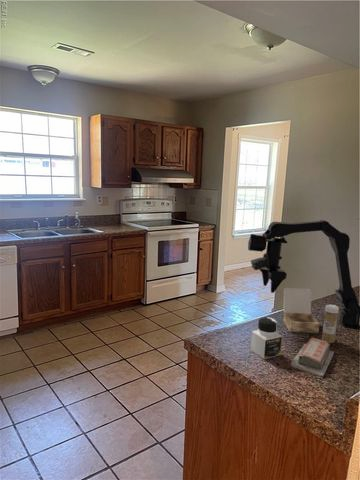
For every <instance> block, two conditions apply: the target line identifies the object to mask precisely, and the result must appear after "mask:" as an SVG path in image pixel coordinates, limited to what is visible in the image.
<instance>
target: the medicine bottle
mask: <svg viewBox="0 0 360 480" xmlns="http://www.w3.org/2000/svg"><path fill="white" fill-rule="evenodd" d="M277 328H278V322H277V320H275V319H274V318H272V317H266V316H264V317H261V318H259V319H258V325H257V329H256V330H255V329H254V330H252V332H251V342H250V350H251V352H253V353H255V354H256V355H258V356H259V357H260V358H262V359H263V360H267V359H271V358H274V357H277V356H281V349H282V348H281V347H282V338H283V337H282V335H281V334H279V333H278V332H277Z"/></svg>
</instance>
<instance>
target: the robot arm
mask: <svg viewBox="0 0 360 480" xmlns="http://www.w3.org/2000/svg"><path fill="white" fill-rule="evenodd" d="M319 231H320V232H322V233H323V234H324V235H325V236H326V237H328V240H329V245H330V246H331V248H332V251H333V252H334V256H335V257H334V258H335V263H336V269H337V277H338V283H339V286H338V289H335V290H334V292H335V299H336V301H337V302H339V304H340V305H341V307H342V309H341V311H340V313H339V320H338V322H339V323H340V324H341V325H342V326H343V327H344V328H351V329H352V328H353V329H354V328H355V329H360V304H359V299H358V296H357V294H356V292H355V290H354V288H353V285H352V278H351V271H350V265H349V257H348V252H349V250H350V241H351V239H350V236H349V235H348V234H347V233H346V232H343V231H340V230H338V229H337V228H336V227H334V226H333V225H332V224H330V222H329V221H327V220H325V219H321V220H314V221H313V220H312V221H303V222H292V223H291V222H286V221H285V222H284V221H272V222H270V223H269V225H268V228H267V229H266V231H265V232H263V234H261V235H260V234H255V233H251V234H250V237H249V239H248V244H247V249H248V250H247V251H250V252H252V251H253V252H263V251H265V250H266V251H265V253H263V257H258V258H254V259H251V260H250V263H251V268H252V269H253V271H258V270H259V271H260V272H261V277H262V281H263V282H262V283H263V286H265V287H266V286H267V285H268V283H269V281H270V293H271V294H274V293H275V292H276V291H277V289H278V287H279V286H280V285H281V284H282V282H283V281H285V280H286V279H287V272H286V271H284V270H283V269H282V268H281V265H280V260H282V258H283V256H281V254H282V253H281V251H282V245H283V244H288V241H287V240H286V238H285V237H286V236H289V235H291V234H299V233H309V232H319Z"/></svg>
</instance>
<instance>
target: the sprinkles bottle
mask: <svg viewBox="0 0 360 480" xmlns="http://www.w3.org/2000/svg"><path fill="white" fill-rule="evenodd" d="M324 310H325V313H324V320H323V328H322V335H321V340H323V341H326V342H328V343H329V344H330V343H332V344H333V343H334V342H336V340H335V338H336V332H337V323H338V316H339V311H340V308H339V306H338V305H334V304H326V305H325V308H324Z"/></svg>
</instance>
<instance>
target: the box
mask: <svg viewBox="0 0 360 480" xmlns="http://www.w3.org/2000/svg"><path fill="white" fill-rule="evenodd" d="M283 324H284V325H285V327H287V329H288V330H289V332H290V333H307V334H319V331H320V330H319V329H320V322H318V320H317V319H316V318H315V317H314V315H313V314H312V313H311V314H305V313H285V312H283Z"/></svg>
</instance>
